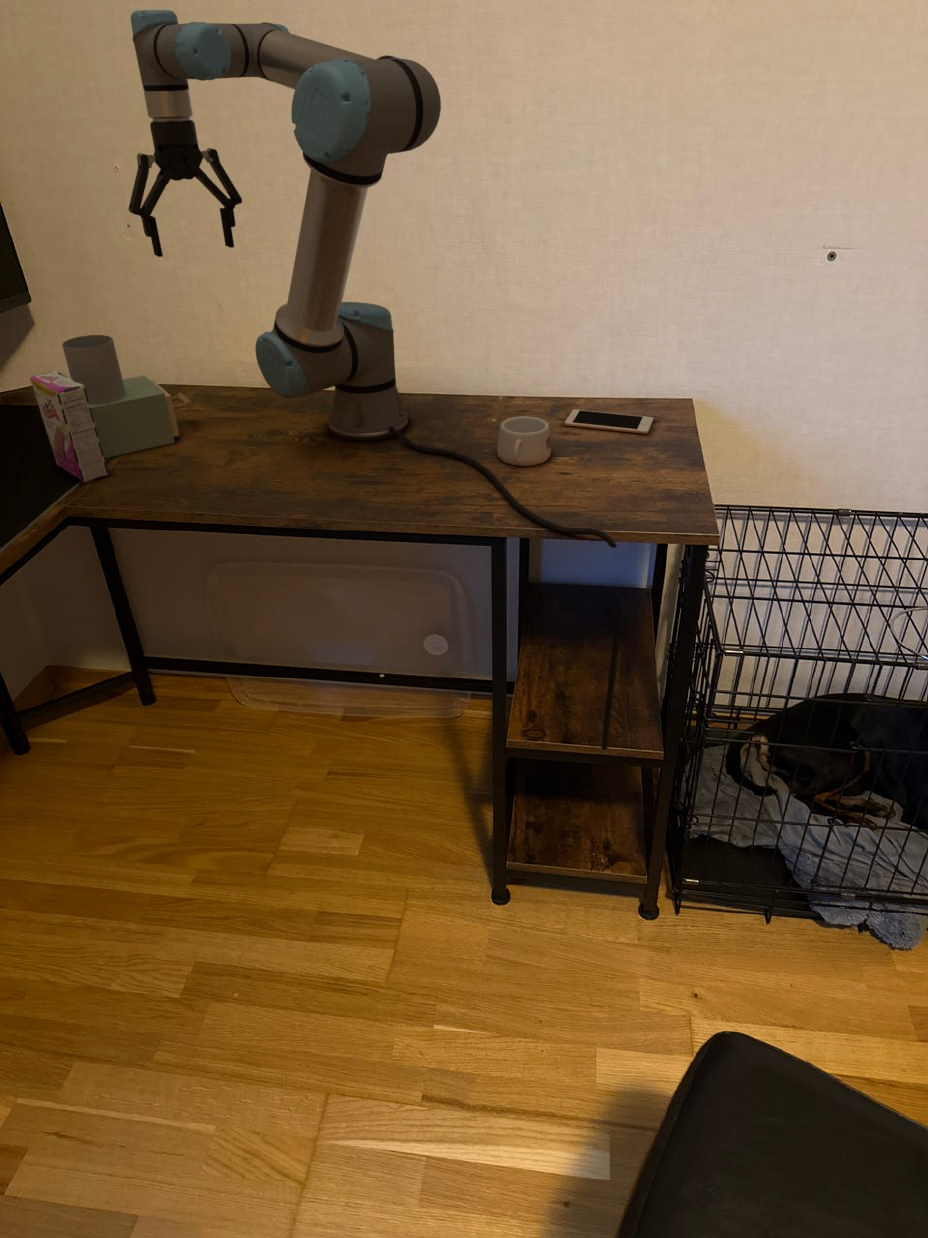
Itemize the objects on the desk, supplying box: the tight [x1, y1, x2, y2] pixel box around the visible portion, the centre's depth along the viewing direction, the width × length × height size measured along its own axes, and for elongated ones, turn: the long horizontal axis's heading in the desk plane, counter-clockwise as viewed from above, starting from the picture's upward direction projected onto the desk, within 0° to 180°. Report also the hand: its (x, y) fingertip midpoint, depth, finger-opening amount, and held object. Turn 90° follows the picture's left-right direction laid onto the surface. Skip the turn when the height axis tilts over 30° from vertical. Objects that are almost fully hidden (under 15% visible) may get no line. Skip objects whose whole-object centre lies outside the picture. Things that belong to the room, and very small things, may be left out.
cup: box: [61, 334, 126, 405], centre depth 154 cm, size 8×8×10 cm
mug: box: [496, 415, 552, 467], centre depth 152 cm, size 12×10×6 cm
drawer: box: [149, 379, 194, 438], centre depth 164 cm, size 18×11×8 cm, turn 124°
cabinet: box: [90, 375, 176, 459], centre depth 162 cm, size 15×13×10 cm
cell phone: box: [564, 408, 654, 435], centre depth 168 cm, size 8×16×1 cm, turn 71°
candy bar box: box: [29, 370, 109, 484], centre depth 148 cm, size 11×5×16 cm, turn 45°
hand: (195, 251), depth 160 cm, fingers open, 13 cm apart
